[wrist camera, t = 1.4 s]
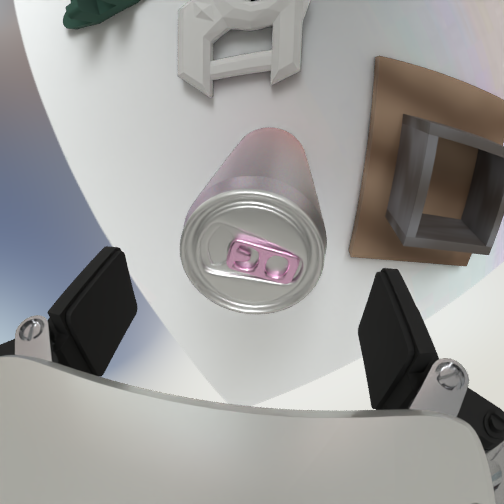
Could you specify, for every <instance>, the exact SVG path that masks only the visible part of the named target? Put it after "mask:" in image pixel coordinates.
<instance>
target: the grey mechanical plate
mask: <svg viewBox="0 0 504 504" xmlns="http://www.w3.org/2000/svg"><path fill="white" fill-rule="evenodd" d="M310 1H311V0H258V1H252V2H251V1H250V0H247V1H246V0H190V1H189V2H187V3H186V4H185V5H184V6H182V7H181V8H180V9H179V10H178V77H180V78H181V79H183V80H184V81H186V82H187V83H189V84H190V85H192V86H193V87H195V88H196V89H198V90H199V91H201V92H202V93H204V94H205V95H206V96H208V97H209V98H211V97H213V80H217V79H222V78H227V77H233V76H238V75H245V74H251V73H258V72H266V71H271V83H270V86H271V85H273V84H275V83H277V82H279V81H281V80H283V79H285V78H287V77H289V76H291V75H293V74H296V73H298V72H300V67H301V47H302V23H303V20H304V17H305V14H306V12H307V9H308V6H309V4H310ZM271 26H273V31H272V50H267V51H260V52H254V53H248V54H242V55H237V56H232V57H227V58H222V59H218V60H213V43H214V42H215V41H217V40H218V39H219V38H220V37H221V36H223V35H224V34H225V33H226V32H228V31H229V30H230V29H235V30H247V31H255V30H259V29H263V28H267V27H271Z"/></svg>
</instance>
